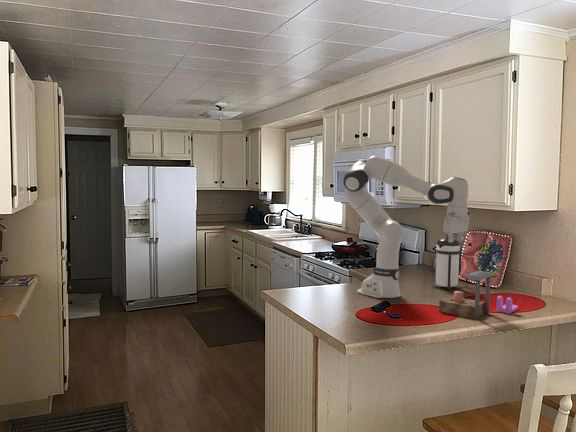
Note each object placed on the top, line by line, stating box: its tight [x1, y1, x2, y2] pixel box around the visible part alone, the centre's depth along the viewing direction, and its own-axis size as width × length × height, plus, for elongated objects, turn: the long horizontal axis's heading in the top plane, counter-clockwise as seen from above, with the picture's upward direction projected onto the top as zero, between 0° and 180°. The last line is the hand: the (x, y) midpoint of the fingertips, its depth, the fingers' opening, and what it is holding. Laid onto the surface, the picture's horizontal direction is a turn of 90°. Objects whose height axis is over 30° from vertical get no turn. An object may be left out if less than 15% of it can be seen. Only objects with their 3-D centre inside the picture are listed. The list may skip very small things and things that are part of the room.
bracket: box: [495, 295, 519, 314], centre depth 232 cm, size 13×6×7 cm, turn 136°
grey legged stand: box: [465, 270, 492, 320], centre depth 222 cm, size 6×14×18 cm, turn 139°
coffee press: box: [432, 234, 462, 291], centre depth 278 cm, size 17×16×30 cm
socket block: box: [438, 295, 485, 319], centre depth 227 cm, size 16×12×5 cm
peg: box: [453, 290, 464, 303], centre depth 228 cm, size 4×4×9 cm
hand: (455, 241), depth 236 cm, fingers open, 8 cm apart
